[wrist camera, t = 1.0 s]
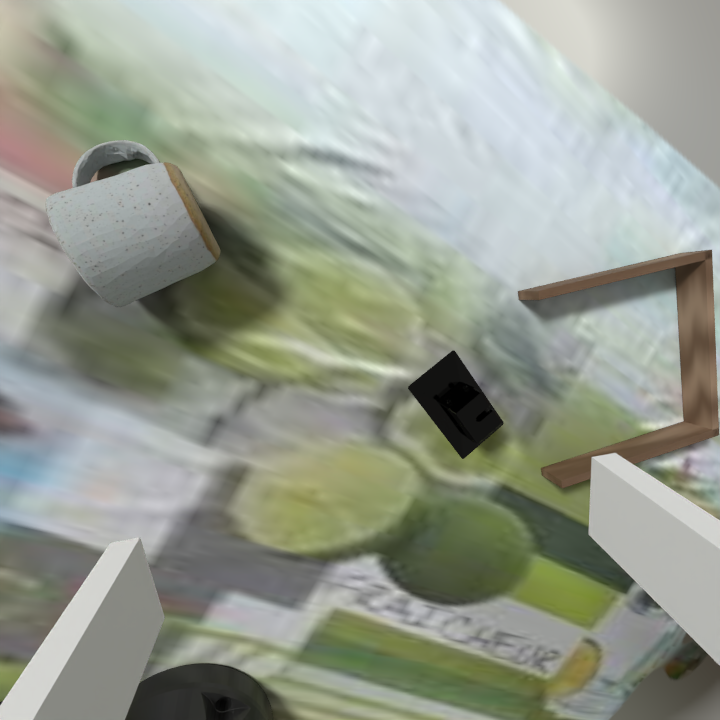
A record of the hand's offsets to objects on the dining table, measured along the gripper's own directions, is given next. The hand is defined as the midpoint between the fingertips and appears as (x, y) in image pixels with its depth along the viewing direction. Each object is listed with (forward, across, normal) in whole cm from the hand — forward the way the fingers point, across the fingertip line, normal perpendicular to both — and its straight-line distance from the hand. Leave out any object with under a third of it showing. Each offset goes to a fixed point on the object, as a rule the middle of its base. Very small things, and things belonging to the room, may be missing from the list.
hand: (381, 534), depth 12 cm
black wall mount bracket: (+26, -11, +8) cm, 29 cm away
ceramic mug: (+24, +13, -12) cm, 30 cm away
